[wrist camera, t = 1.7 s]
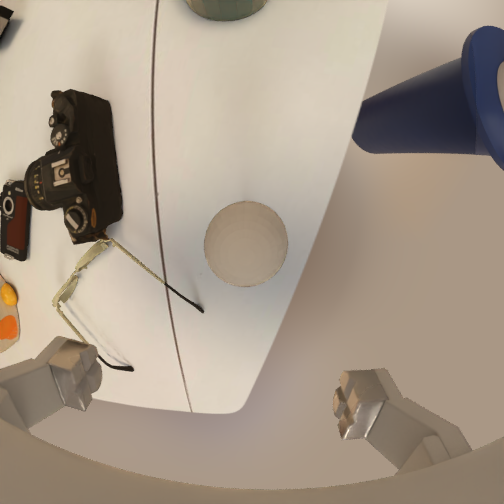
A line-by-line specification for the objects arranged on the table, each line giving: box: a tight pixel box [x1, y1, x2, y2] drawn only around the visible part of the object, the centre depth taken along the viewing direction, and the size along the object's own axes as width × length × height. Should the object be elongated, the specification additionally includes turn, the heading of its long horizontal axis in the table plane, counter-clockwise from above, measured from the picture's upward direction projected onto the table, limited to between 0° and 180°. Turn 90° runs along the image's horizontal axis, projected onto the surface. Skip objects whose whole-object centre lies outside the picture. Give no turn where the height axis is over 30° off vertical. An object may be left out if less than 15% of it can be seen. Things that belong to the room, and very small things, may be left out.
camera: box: [0, 180, 31, 261], centre depth 31 cm, size 6×3×11 cm
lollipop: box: [204, 201, 288, 287], centre depth 25 cm, size 6×6×15 cm
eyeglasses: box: [52, 234, 204, 372], centre depth 33 cm, size 17×15×5 cm
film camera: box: [24, 89, 123, 245], centre depth 26 cm, size 18×12×10 cm
